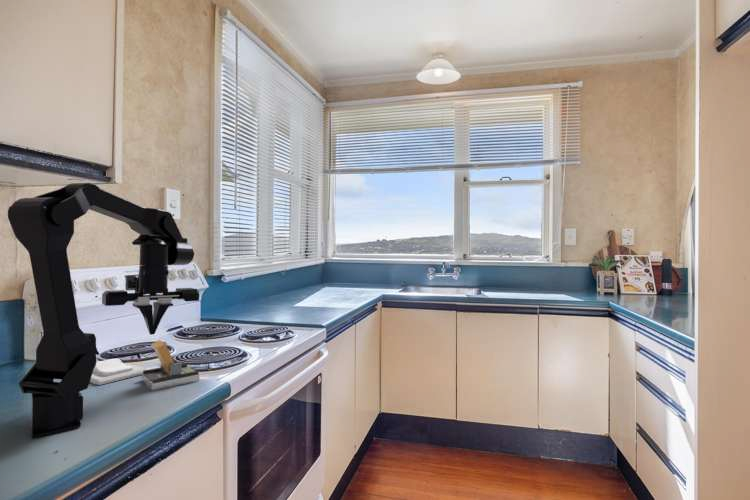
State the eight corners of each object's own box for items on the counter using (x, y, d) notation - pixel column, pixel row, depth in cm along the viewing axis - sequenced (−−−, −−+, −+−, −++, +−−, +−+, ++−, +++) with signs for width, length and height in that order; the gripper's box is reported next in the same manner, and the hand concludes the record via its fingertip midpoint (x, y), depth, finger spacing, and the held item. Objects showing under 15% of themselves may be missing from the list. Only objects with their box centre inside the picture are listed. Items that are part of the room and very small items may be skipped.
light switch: (123, 354, 105) (148, 358, 98) (123, 369, 105) (148, 375, 98) (74, 363, 96) (98, 369, 89) (75, 380, 96) (98, 388, 89)
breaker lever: (171, 376, 91) (157, 348, 89) (164, 371, 95) (151, 343, 93) (179, 372, 92) (165, 344, 90) (172, 367, 96) (159, 339, 94)
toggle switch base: (151, 390, 86) (152, 369, 86) (141, 380, 93) (142, 360, 93) (199, 380, 93) (199, 360, 93) (186, 371, 100) (186, 352, 100)
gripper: (186, 264, 103) (184, 325, 102) (99, 264, 90) (97, 333, 90) (200, 266, 94) (199, 331, 94) (107, 266, 82) (104, 341, 82)
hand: (151, 334), depth 90 cm, fingers closed
